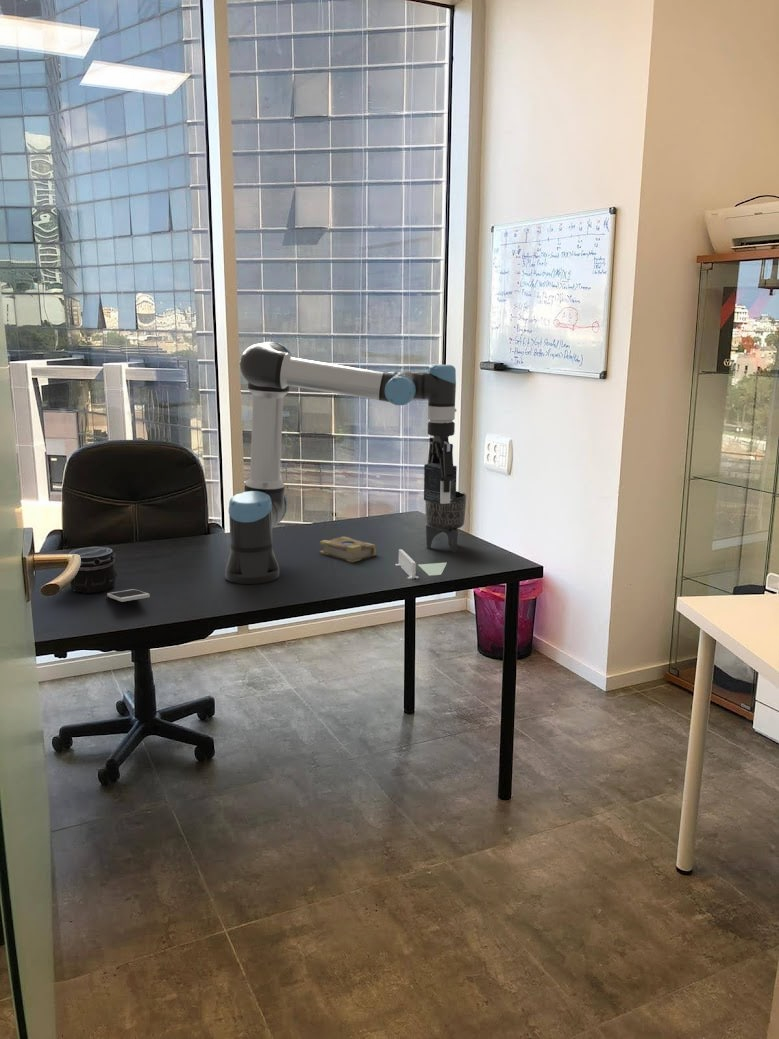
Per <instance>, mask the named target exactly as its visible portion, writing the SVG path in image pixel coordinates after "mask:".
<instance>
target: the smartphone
mask: <svg viewBox="0 0 779 1039" xmlns="http://www.w3.org/2000/svg"><path fill="white" fill-rule="evenodd" d="M106 595H107V597H109V598H110V599H113V600H116V601H118V602H122V603H123V602H127V601H128V602H130V601H134V600H135V601H136V600H140V599H146V598H150V593H148V592H144V591H141V590H139V589H134V588H132V589H126V590H121V591H119V590H118V591H114V592H113V591H112V592H108V593H106Z"/></svg>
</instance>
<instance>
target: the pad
mask: <svg viewBox="0 0 779 1039" xmlns="http://www.w3.org/2000/svg"><path fill="white" fill-rule="evenodd" d="M446 565H447V562H435V563H424V564H423V563H422V564H421V563H420V564H419V563H418V567H419V568H421V569H422V571H423V572H425V573H426V575H427V576H429V577H430V576H440V575H442V574H443V571H444V569H445V567H446Z"/></svg>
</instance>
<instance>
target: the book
mask: <svg viewBox="0 0 779 1039" xmlns="http://www.w3.org/2000/svg"><path fill="white" fill-rule="evenodd" d="M319 545H320V546H323V550H319V553H320V554H322V555H326V556H330V557H334V558H337V559H341V560H342V561H343V560H344V561H346V562H350V563H354V562H358V561H361V560H365V559H367V558H371V557H374V556H376V554H377V547H376V544H374V543H370V542H364V541H362V540H358V539H354V538H351V537H348V536H340V537H336V538H332V539H329V540H327V539H322V540H320V541H319Z"/></svg>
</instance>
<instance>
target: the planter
mask: <svg viewBox="0 0 779 1039" xmlns="http://www.w3.org/2000/svg"><path fill="white" fill-rule="evenodd" d="M424 502H425V505H424V506H425V508H424V509H425V511H424V512H425V524H426V525H425V539H426V540H425V542H426V545H425V546H426V549H428V550H430V549H431V548H432V543H433V541H434V538H435V537H436V536H437V535H438V534H440V533H443V532H444V533H445V534H446V536H447V540H448V545H450V551H451V552H452V553H456V552H457V551H458V535H459V532H458V531H459V529H461V528H462V527H464V526H465V522H466V521H465V520H466V519H465V518H466V509H467V508H466V506H467V505H466V504H467V494H466V493H465V492H462V491H458V490H456V502H454V503H448V504H439V503H435V502H431V501H426V500H424Z"/></svg>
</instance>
